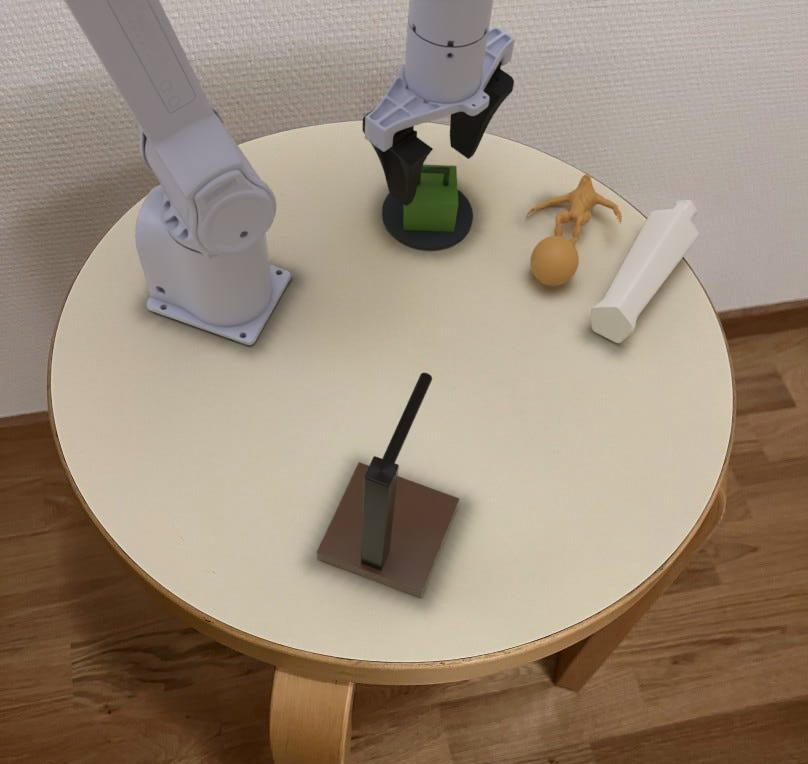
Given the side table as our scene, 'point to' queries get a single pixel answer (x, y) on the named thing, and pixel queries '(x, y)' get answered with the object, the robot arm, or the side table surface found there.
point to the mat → (426, 239)
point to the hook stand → (390, 517)
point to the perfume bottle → (645, 269)
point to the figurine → (558, 254)
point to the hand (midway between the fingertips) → (431, 174)
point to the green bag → (433, 200)
